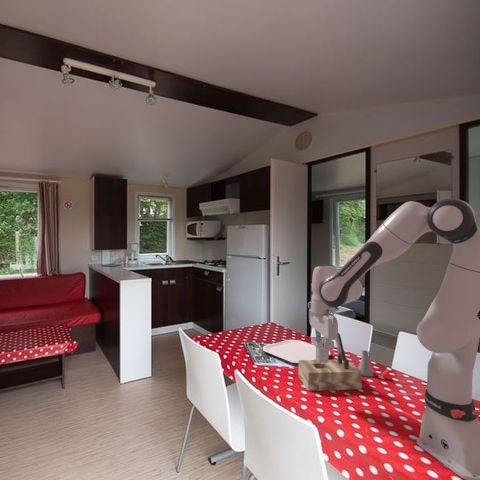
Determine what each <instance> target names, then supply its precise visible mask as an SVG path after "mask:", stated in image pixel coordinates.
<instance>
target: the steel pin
mask: <svg viewBox="0 0 480 480" xmlns="http://www.w3.org/2000/svg"><path fill="white" fill-rule="evenodd" d="M310 342H311V343H312V345H315V346H316V360H317V361H318V362H319V363H328V362H329V360H330V359H329V357H330V356H329V351H330V348H331V349H332V348H333V349H334V348H335V341H334V340H331V342H330V348H329V349H325V348H324V347H323V343H324V342H325V339H324V336H321V337H316V336H311V340H310Z"/></svg>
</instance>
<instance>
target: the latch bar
mask: <svg viewBox="0 0 480 480" xmlns="http://www.w3.org/2000/svg"><path fill="white" fill-rule="evenodd" d="M335 343H336V348H337V351H338V354H339V356H340V359H341V360H343V361H344V359H346V354H345V350H344V346H343V341H342V337H341V333H339V332H338V338H337V340H335Z"/></svg>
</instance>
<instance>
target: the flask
mask: <svg viewBox="0 0 480 480" xmlns="http://www.w3.org/2000/svg"><path fill="white" fill-rule="evenodd" d="M361 354H362V355H361V360H360V362H359V365H358V367H357V368H358V369H359V370H360V371H362V377H366V378H367V377H373V376H374V371H373V369H372V364H371V362H370V358H369V354H370V351H369V350H361Z"/></svg>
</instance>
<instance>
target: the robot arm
mask: <svg viewBox="0 0 480 480" xmlns="http://www.w3.org/2000/svg"><path fill="white" fill-rule="evenodd" d="M430 232H433V233H434V234H435V235H437V236H438V237H440V238H441V239H444V240H446V241H448V242H450V243H452V245H453V247H452V252H451V255H450V258H449V261H448V264H447V267H446V270H445V273H444V276H443V280H442V282H441V284H440V287H439V290H438V292H437V293H436V295H435V297H434V298H433V300H432V302H431V304H429V305H430V306H429V307H428V310H427V311H426V313H425V315H424V317H423V318H422V319H421V321H419V323H418V324H417V327H416V337H417V340H418V341H419V342H420V344H421V346H423V347H424V348H425V349H427V350H428V351H430V352H432V354H431V356H430V359H429V361H428V363H427V375H426V376H427V377H426V378H427V379H426V382H427V383H426V389H425V391H424V392H425V393H424V402H425V408H424V411H423V414H422V416H421V422H420V431H419V436H418V437H417V438H416V444H417V445H418V446H419V447H420V448H422V449H423V450H425V451H426V452H427V453H428V454H429V455H431V456H432V457H434V458H435V459H436V460H438V461H439V462H440V463H441V464H443V465H444V466H445V467H447V468H448V469H450V470H451V471H452V472H454V473H455V474H456V475H458V476H459V477H461V478H462V479H464V480H480V421H479V418H478V416H479V415H480V410H476V406H475V403H474V400H473V379H474V378H473V377H474V376H473V374H474V368H475V365H476V364H475V363H476V359H477V355H478V349H479V343H480V318H479V317H478V314H479V312H480V227H479V226H478V224H477V221H476V212H475V210H474V209H473V207H472V206H471V205H470V204H469V203H468V202H466V201H464V200H461V199H459V198H458V199H457V198H445V199H441V200H438V201H437V202H435V203H434V204H433V205H432V206H431V207H429V206H425V205H424V204H422V203H421V202H418V201H413V200H410V201H406V202H404V203H403V204H401V205H400V206H399V207H398V208H396V210H394V211H393V212H392V213H390V215H389V216H388V217H387V218H386V219H385V220H383V222H382V223H381V225H380V226H379V227H378V228H377V229H376V230H375V231H374V233H373V234H372V235H371V236H370V238H369V239H368V240H366V242H365V243H364V244H363V245H362V247H361V248H360V249H359V250H358V251H357V252H355V254H354V255H353V256H351V257H350V258H349V260H348V261H347V262H346V263H344V264H343V266H342V267H340V268H338V267H337V266H336V265H334V264H321V265H317V266H315V267H314V268H313V272H312V276H311V277H312V279H311V291H312V295H311V301H309V302H308V303H307V307H308V319H309V320H308V322H309V325H310V326H311V327H312V328H314V334H315V337H324V339H325V342H324V343H323V347H324V348H325V349H329V350H330V342H331V340H332V341H334V340H335V341H336V340H337V338H338V333H339V323H338V322H339V321H338V319H337V317H336V316H335V314H336V312H337V311H336V309H337V308H338V307H341V306H343V305H346V304H350V303H353V302H355V301H358V300H360V298H361V297H362V295H363V291H364V287H363V283H362V282H361V280H360V279H361V278H362V277H363V276H364V275H365V274H367V272H368V271H370V270H371V269H372V268H374V267H376V266H379V265H380V264H382V263H386V262H390V261H391V260H395V259H397V258H398V257H400V256H401V255H403V254H404V253H406V252H407V251H408V249H410V248H411V247H412V246H413V245H414V244H415V243H416V242H417V240H419V239H420V238H421V236H423V235H425V234H427V233H430Z"/></svg>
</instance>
